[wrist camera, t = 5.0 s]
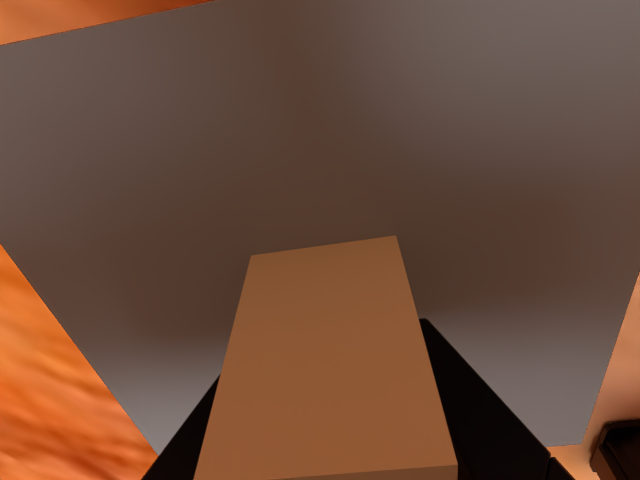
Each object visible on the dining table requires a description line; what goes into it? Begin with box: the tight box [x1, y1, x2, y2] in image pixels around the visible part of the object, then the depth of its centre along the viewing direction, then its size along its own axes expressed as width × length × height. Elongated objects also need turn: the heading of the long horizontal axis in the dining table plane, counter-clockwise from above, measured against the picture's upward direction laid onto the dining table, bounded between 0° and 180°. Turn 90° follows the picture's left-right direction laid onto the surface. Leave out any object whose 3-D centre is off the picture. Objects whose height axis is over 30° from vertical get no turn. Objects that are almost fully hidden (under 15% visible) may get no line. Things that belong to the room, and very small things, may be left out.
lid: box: [0, 0, 640, 480], centre depth 8 cm, size 13×13×6 cm
